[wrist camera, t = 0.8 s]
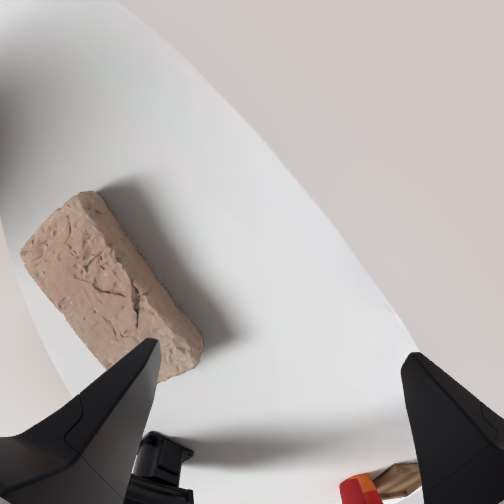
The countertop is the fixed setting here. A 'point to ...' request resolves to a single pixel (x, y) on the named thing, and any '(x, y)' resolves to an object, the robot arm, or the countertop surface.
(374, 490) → the paper cup
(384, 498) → the tray
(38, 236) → the brick
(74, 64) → the countertop surface
